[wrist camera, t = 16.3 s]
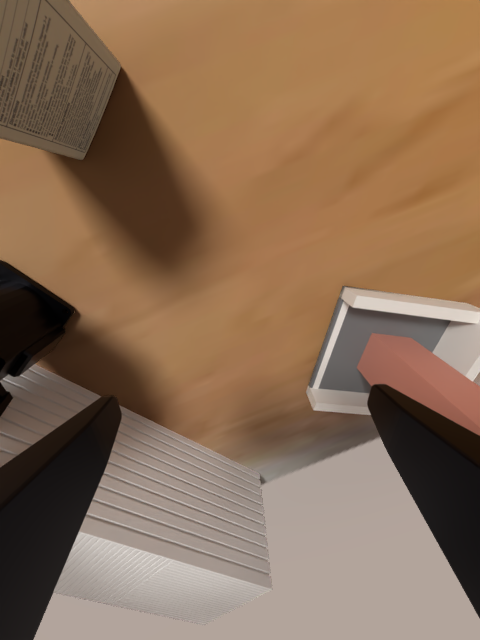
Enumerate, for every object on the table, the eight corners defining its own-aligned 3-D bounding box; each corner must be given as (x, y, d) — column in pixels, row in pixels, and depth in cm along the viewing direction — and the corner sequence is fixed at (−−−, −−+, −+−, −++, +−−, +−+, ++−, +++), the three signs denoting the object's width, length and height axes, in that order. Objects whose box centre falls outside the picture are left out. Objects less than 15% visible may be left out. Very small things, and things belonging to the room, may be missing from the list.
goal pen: (306, 392, 25) (318, 422, 22) (342, 285, 20) (367, 302, 17) (408, 401, 27) (436, 432, 23) (467, 303, 21) (514, 322, 18)
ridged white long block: (-30, 412, 25) (-194, 540, 15) (1, 345, 22) (-181, 454, 12) (211, 508, 35) (204, 625, 25) (259, 471, 31) (272, 589, 22)
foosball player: (356, 367, 24) (505, 555, 11) (371, 332, 22) (569, 506, 9) (393, 371, 24) (579, 557, 11) (411, 337, 22) (653, 510, 10)
